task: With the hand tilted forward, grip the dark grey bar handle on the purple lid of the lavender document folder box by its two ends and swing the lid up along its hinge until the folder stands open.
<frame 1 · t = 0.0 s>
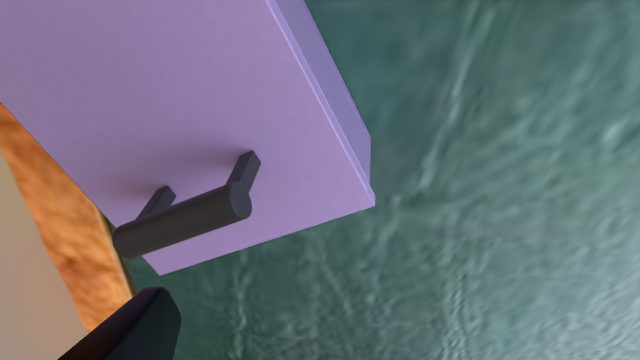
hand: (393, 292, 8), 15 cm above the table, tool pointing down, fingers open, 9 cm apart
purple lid: (142, 127, 16), point 7 cm above the table, hinge at 0.0°
folder box: (198, 60, 22), on the table
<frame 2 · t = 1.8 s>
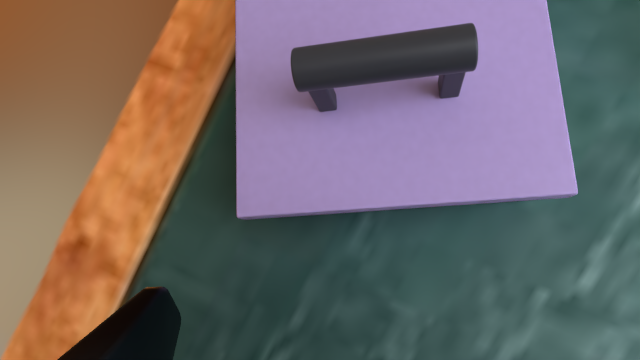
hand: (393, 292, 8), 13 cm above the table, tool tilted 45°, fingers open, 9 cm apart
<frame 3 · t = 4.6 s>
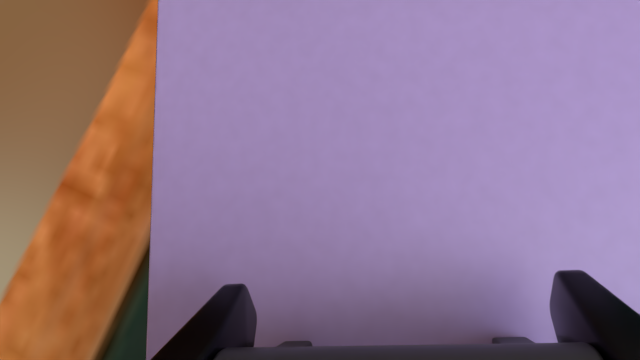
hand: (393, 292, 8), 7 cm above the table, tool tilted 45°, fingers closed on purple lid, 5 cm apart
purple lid: (384, 188, 9), point 7 cm above the table, hinge at 0.0°, touching gripper
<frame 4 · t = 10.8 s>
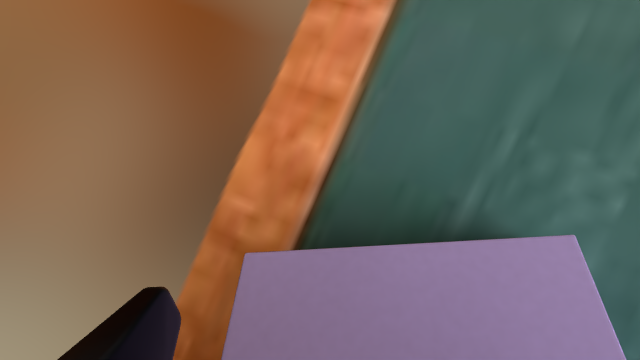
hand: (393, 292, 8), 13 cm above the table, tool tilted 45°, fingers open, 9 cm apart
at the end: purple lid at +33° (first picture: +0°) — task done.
